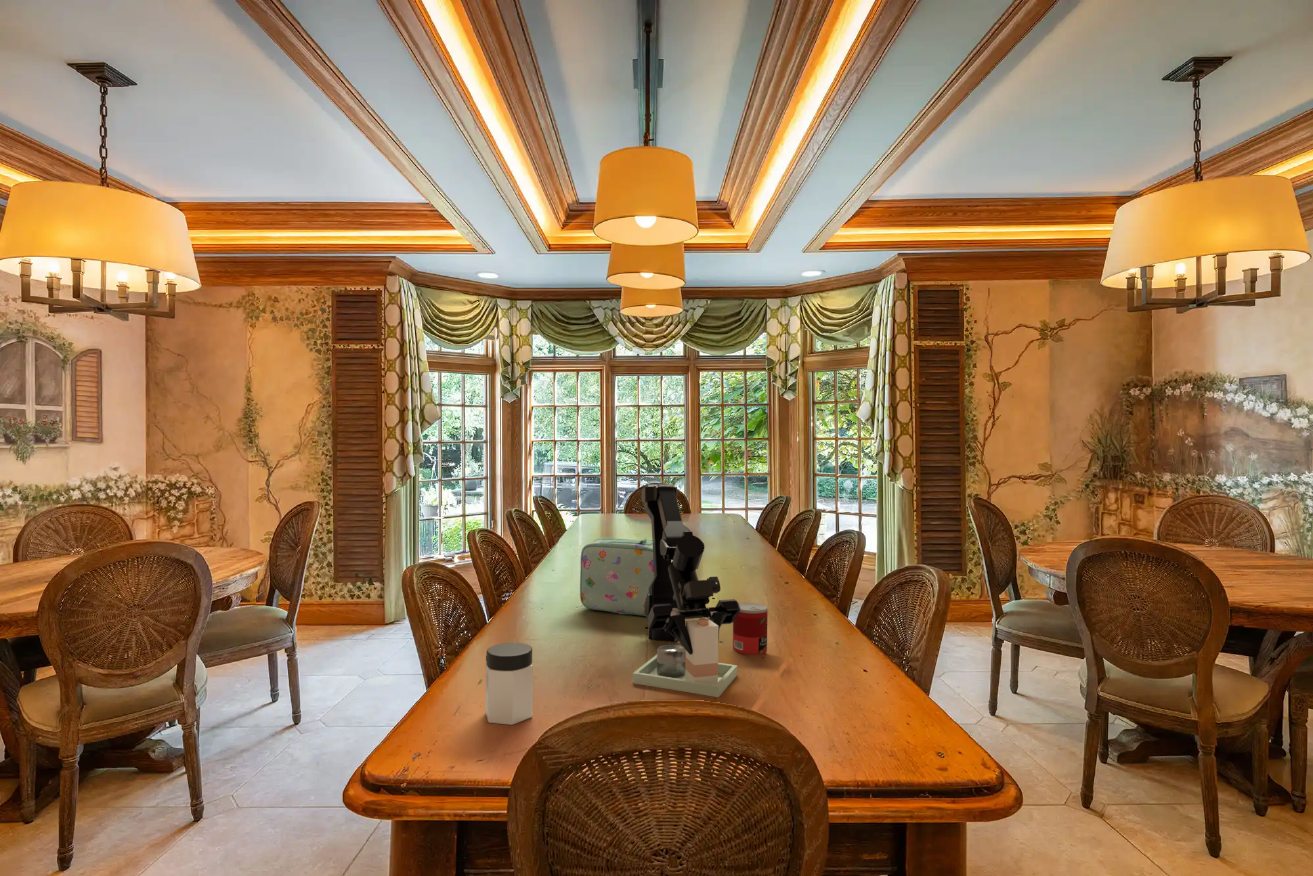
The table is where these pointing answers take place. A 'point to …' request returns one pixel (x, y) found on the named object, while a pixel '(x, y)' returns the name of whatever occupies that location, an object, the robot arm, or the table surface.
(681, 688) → the tray
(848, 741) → the table surface
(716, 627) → the oat carton
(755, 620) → the canned food
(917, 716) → the table surface
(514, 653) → the jar
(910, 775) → the table surface
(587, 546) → the lunch box
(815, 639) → the table surface
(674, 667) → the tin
